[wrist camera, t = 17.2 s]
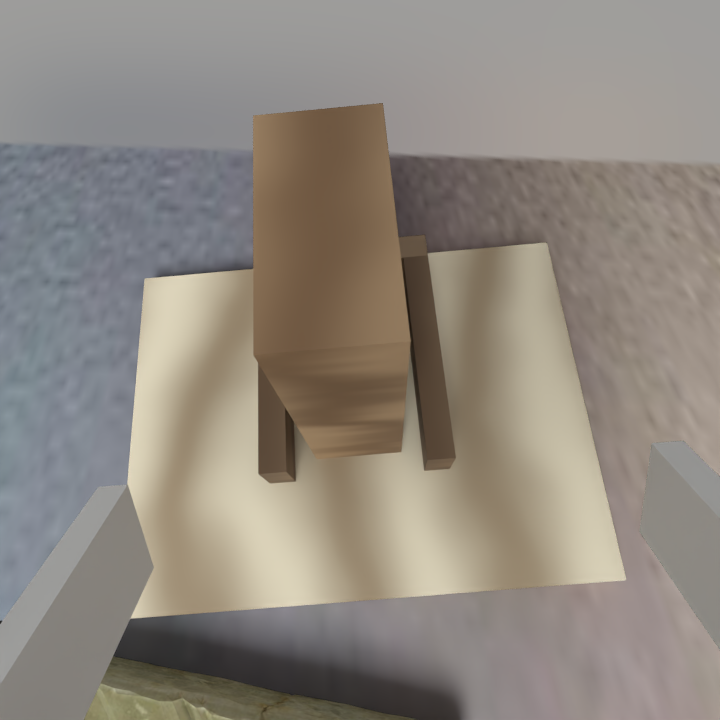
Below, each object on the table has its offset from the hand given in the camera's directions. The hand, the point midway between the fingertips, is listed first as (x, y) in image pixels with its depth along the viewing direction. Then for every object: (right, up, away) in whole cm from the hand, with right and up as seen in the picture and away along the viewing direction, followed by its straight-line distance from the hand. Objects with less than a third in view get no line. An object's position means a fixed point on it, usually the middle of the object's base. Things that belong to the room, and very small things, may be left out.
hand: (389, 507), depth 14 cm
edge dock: (-1, +1, +14) cm, 14 cm away
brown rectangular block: (-1, +3, +13) cm, 14 cm away
